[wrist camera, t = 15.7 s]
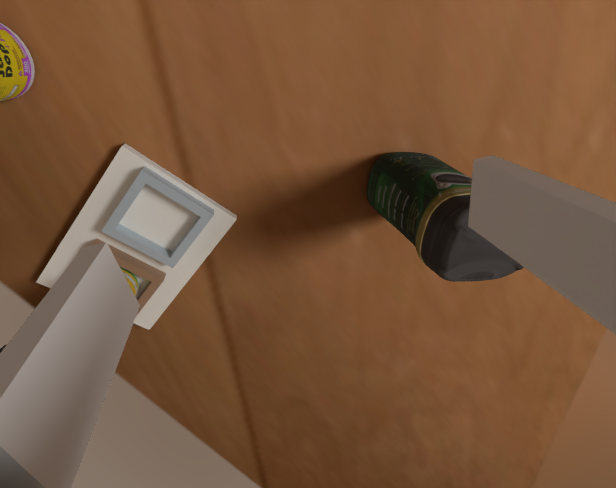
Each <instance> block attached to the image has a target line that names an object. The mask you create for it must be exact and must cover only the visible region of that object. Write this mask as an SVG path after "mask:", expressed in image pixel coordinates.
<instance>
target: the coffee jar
mask: <svg viewBox="0 0 616 488" xmlns="http://www.w3.org/2000/svg"><path fill="white" fill-rule="evenodd" d="M471 185H472V179H471V178H470V177H468V176H466V175H464V174H463V173H461V172H459V171H457V170H456V169H454V168H452V167H450V166H449V165H447V164H446V163H444V162H442V161H441V160H439V159H437V158H435V157H433V156H431V155H427V154H422V153H415V152H396V153H389V154H386V155H383V156H382V157H380V158H379V159H378V160H377V161H376V162H375V164H374V165H373V167H372V169H371V172H370V175H369V180H368V187H367V198H368V201H369V203H370V205H371V206H372V207H373V208H374V209H375V210H376V211H377V212H378V213H379V214H380V215H382V216H383V217H384V218H385V219H386V220H387V221H389V222H390V223H391V224H392V225H393V226H394V227H396V228H397V229H398V230H399V231H400V232H401V233H402V234H403V235H404V236H405V237H406V238H407V239H408V240H410V241H411V242H412V243H413V244H414V246H415V247H416V250H417V253H418V255H419V257H420V259H421V260H422V262H423V263H424V264H425V265H427V266H428V267H429V268H430V269H431V270H433V271H434V272H435V273H436V274H437V275H439V276H440V277H441V278H443V279H445V280H448V281H482V280H492V279H497V278H501V277H504V276H507V275H509V274H511V273H513V272H515V271H517V270H521V269H523V268H524V267H523V266H522V265H520V264H519V263H518V262H516V261H515V260H514V259H512V258H511V257H510V256H508V255H507V254H505V253H504V252H503V251H501V250H500V249H499V248H497V247H496V246H495V245H493V244H492V243H490V242H489V241H488V240H486V239H485V238H484V237H482V236H481V235H480V234H478V233H477V232H475V231H474V230H473V229H471V228H470V227H469V226H468V221H469V209H470V197H471Z"/></svg>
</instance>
